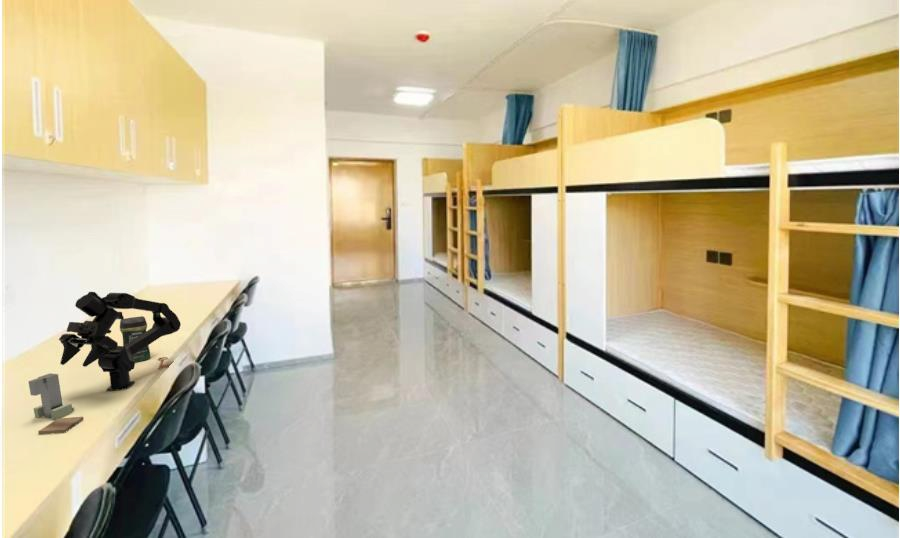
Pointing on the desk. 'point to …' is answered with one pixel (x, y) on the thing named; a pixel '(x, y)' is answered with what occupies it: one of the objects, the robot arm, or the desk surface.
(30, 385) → the stepped metal bracket
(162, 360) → the key
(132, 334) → the coffee jar
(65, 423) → the walnut board
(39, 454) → the desk surface
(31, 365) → the desk surface
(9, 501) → the desk surface
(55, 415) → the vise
